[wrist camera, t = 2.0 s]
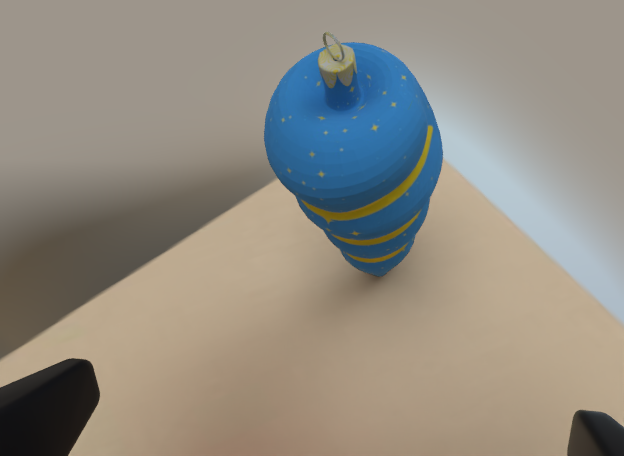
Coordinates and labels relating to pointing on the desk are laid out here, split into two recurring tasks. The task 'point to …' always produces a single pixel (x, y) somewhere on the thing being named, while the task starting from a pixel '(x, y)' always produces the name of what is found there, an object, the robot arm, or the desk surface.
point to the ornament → (356, 150)
